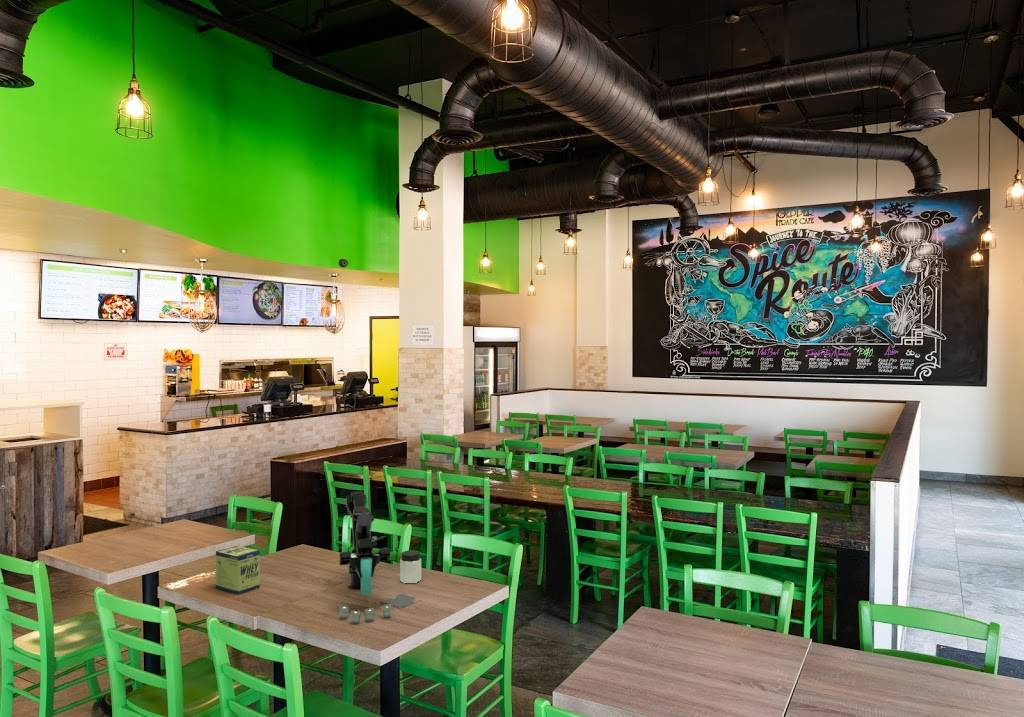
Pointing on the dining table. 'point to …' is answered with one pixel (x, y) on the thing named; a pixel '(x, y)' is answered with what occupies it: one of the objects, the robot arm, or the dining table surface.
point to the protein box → (237, 569)
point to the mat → (400, 600)
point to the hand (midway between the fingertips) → (366, 577)
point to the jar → (410, 566)
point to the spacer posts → (368, 613)
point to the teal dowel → (366, 576)
